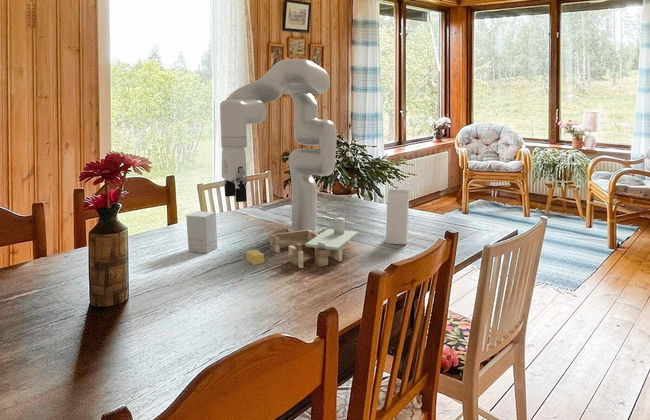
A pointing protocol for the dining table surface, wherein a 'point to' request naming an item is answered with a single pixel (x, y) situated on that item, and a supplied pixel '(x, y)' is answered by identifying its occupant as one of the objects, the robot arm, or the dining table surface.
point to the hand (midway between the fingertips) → (235, 198)
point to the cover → (333, 236)
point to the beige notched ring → (296, 252)
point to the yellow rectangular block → (255, 257)
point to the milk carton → (397, 216)
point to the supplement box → (201, 231)
